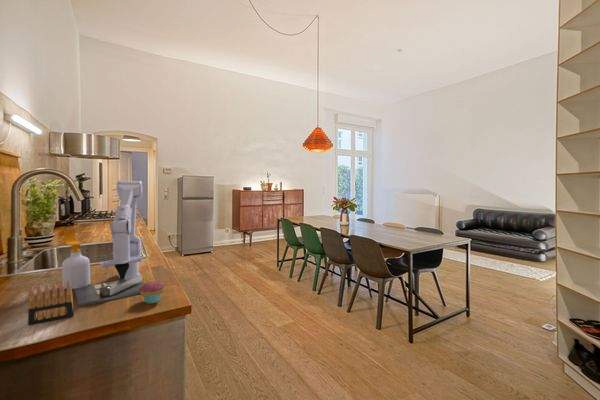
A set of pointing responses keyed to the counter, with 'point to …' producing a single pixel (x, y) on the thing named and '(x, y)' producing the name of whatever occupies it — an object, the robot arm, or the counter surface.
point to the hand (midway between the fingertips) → (122, 281)
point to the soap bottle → (75, 263)
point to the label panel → (92, 293)
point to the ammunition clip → (50, 304)
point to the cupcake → (152, 290)
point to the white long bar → (119, 285)
